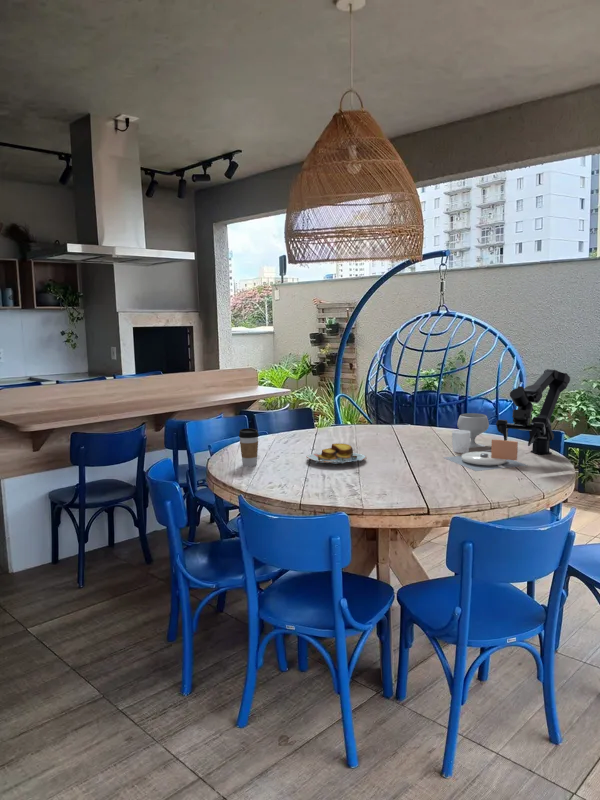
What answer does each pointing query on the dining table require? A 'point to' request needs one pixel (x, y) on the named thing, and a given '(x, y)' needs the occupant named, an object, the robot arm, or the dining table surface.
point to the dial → (493, 454)
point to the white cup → (461, 441)
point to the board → (484, 467)
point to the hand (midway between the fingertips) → (516, 444)
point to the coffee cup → (249, 446)
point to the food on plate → (337, 455)
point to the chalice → (473, 426)
